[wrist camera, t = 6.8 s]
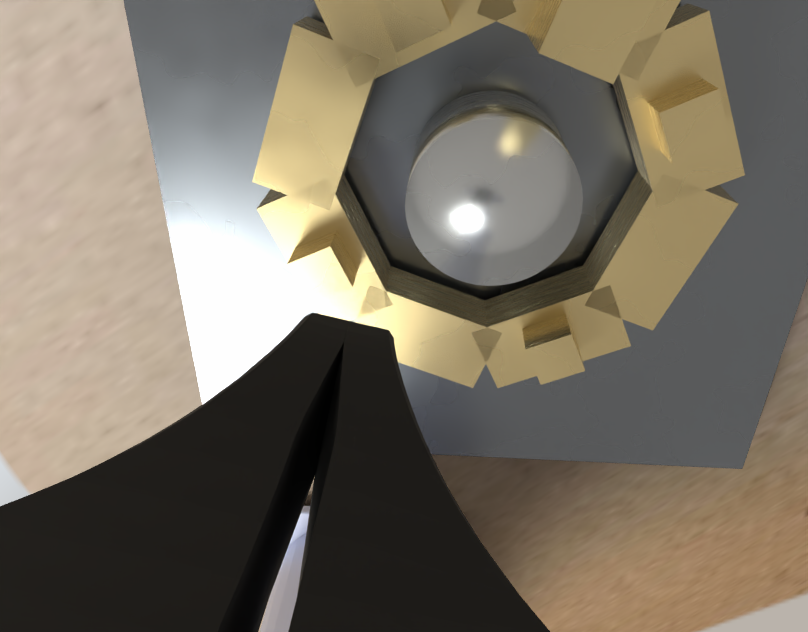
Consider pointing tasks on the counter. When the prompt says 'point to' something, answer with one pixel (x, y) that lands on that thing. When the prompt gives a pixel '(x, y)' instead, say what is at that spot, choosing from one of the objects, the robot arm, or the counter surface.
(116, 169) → the counter surface
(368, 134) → the dark gray base plate
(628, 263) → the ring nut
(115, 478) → the robot arm
